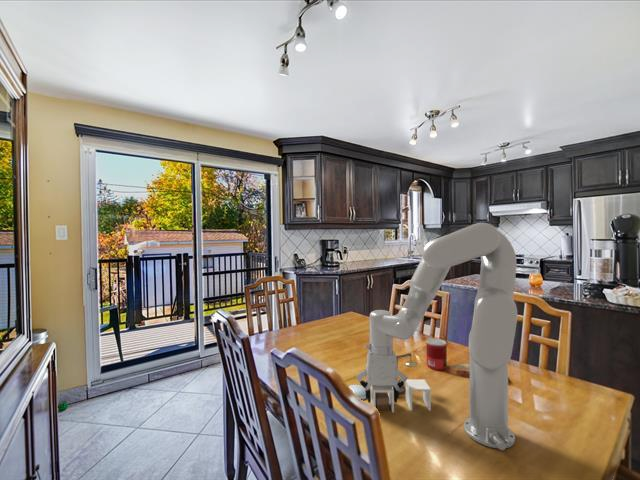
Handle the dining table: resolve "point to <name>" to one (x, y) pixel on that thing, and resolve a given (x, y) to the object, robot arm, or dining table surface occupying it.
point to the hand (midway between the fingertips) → (381, 400)
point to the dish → (358, 391)
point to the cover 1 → (383, 389)
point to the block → (382, 400)
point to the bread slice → (461, 370)
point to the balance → (407, 363)
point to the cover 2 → (418, 386)
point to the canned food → (436, 354)
